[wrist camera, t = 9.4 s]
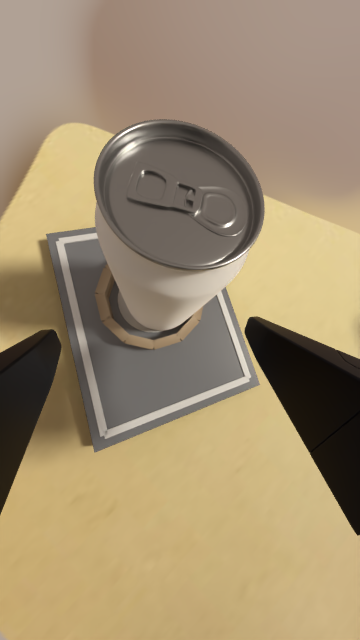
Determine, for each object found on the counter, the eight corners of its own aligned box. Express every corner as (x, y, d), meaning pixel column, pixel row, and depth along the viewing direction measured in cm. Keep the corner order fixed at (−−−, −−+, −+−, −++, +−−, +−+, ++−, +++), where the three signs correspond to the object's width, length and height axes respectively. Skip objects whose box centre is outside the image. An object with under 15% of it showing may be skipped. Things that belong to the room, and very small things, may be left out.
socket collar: (115, 361, 15) (111, 362, 14) (90, 264, 17) (85, 256, 15) (211, 332, 18) (217, 330, 16) (183, 247, 19) (186, 239, 17)
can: (186, 337, 17) (269, 306, 5) (119, 323, 16) (43, 248, 4) (196, 277, 18) (281, 148, 7) (135, 261, 17) (110, 80, 6)
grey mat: (98, 444, 15) (94, 453, 14) (52, 241, 18) (45, 233, 16) (252, 382, 19) (260, 384, 17) (196, 220, 21) (199, 212, 20)
